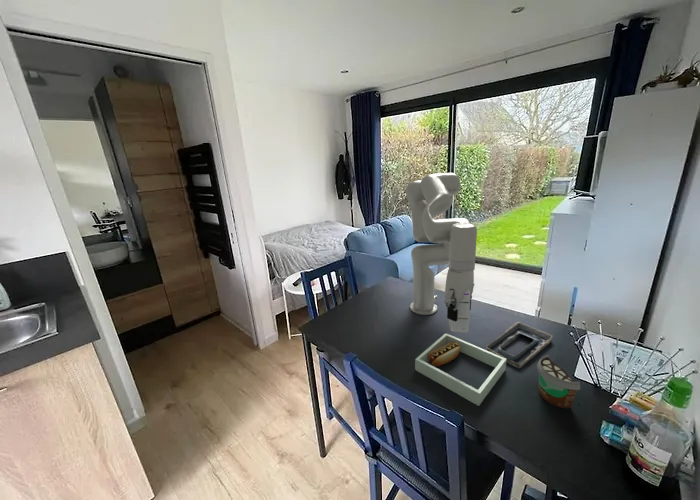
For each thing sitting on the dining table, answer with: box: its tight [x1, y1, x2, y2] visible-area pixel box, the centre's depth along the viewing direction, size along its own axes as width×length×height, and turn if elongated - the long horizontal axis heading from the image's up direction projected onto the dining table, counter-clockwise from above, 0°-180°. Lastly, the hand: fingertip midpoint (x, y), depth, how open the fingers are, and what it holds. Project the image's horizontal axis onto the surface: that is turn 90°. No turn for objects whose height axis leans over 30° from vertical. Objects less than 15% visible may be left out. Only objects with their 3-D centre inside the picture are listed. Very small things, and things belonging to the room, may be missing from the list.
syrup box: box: [448, 289, 471, 333], centre depth 92 cm, size 6×6×14 cm
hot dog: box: [428, 343, 461, 367], centre depth 102 cm, size 5×13×5 cm, turn 120°
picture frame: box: [486, 321, 553, 369], centre depth 107 cm, size 13×25×3 cm, turn 125°
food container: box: [536, 354, 581, 409], centre depth 84 cm, size 12×6×10 cm, turn 5°
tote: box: [414, 333, 507, 407], centre depth 97 cm, size 20×22×4 cm
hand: (459, 314), depth 93 cm, fingers closed on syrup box, 8 cm apart
